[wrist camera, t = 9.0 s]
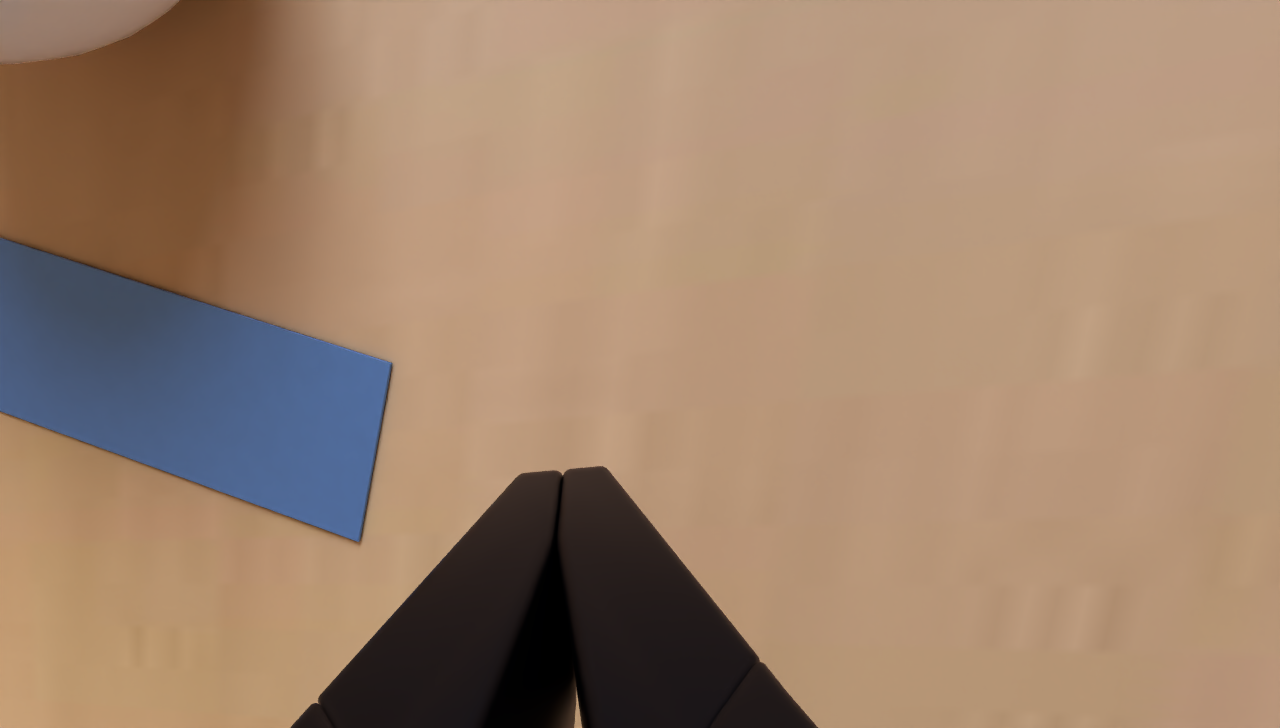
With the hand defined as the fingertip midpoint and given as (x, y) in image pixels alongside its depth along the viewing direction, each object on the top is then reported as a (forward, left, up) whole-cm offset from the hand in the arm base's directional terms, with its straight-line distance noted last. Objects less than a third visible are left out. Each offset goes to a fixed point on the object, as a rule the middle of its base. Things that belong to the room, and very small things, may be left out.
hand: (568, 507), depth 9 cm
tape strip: (-5, +15, -11) cm, 19 cm away
